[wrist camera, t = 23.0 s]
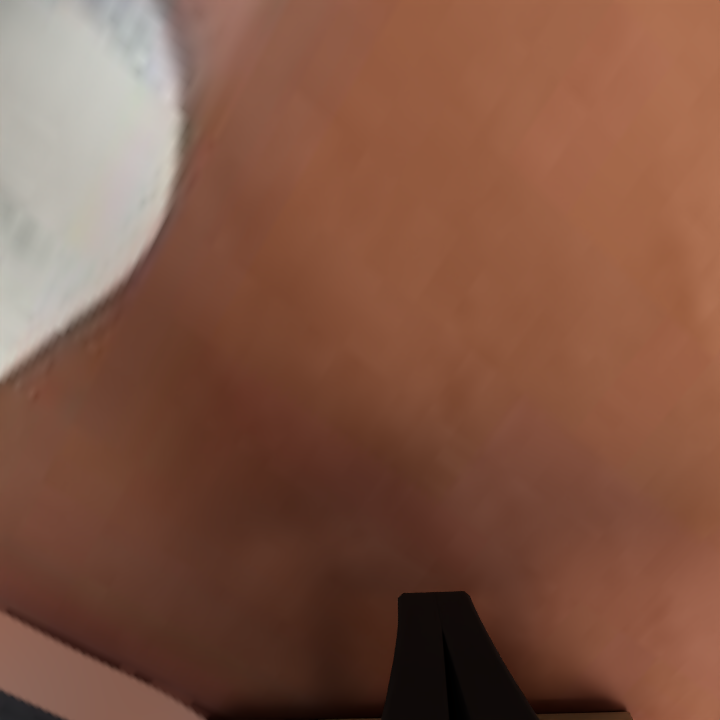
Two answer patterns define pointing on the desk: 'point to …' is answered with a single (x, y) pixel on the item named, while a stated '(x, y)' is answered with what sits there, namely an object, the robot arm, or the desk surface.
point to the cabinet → (561, 716)
